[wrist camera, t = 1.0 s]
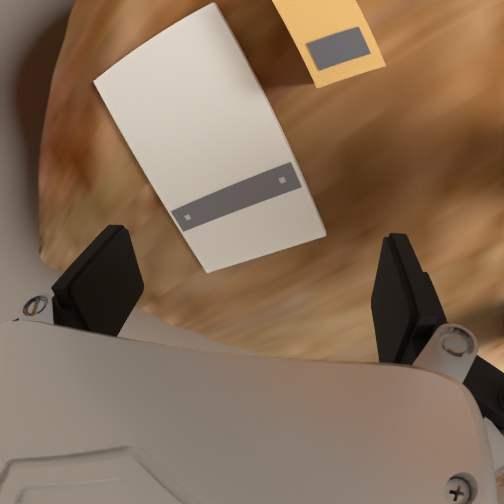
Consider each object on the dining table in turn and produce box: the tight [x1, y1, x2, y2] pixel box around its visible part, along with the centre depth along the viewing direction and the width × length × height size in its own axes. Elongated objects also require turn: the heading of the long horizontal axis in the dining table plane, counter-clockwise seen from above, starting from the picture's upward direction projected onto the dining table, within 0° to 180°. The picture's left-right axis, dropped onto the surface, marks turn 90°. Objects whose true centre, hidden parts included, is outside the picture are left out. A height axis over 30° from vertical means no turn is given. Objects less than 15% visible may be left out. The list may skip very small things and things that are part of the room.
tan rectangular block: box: [272, 0, 386, 88], centre depth 22 cm, size 6×10×7 cm, turn 26°
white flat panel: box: [93, 2, 326, 273], centre depth 33 cm, size 16×28×1 cm, turn 26°
